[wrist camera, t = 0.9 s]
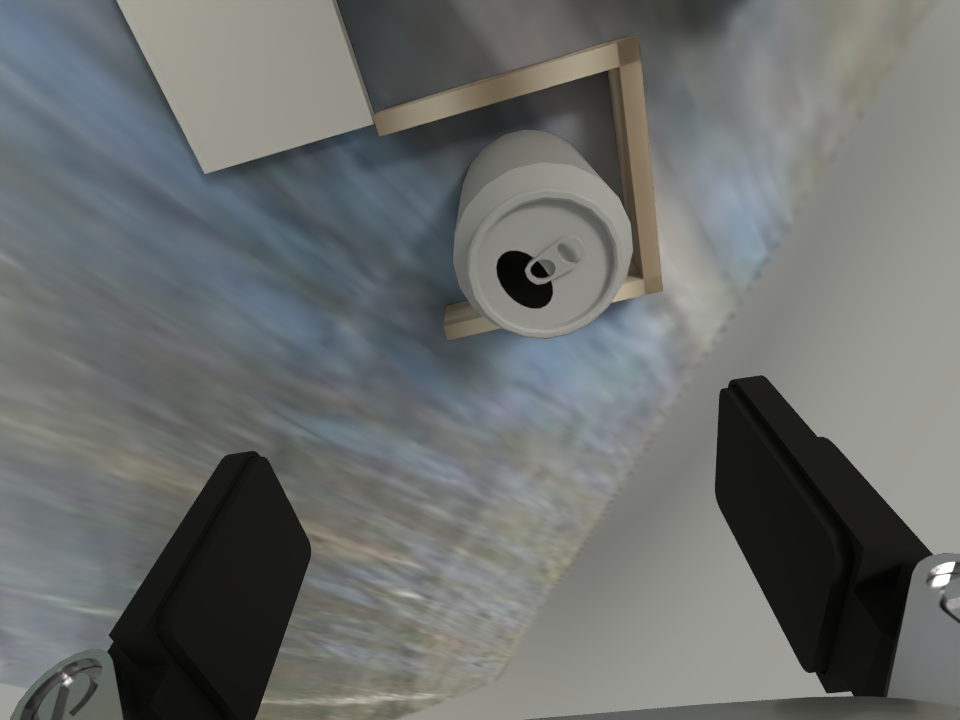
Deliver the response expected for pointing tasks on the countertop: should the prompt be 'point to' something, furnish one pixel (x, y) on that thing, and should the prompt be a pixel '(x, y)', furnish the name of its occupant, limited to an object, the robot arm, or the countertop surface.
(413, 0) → the countertop surface
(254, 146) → the tile
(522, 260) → the can
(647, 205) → the open wooden frame
